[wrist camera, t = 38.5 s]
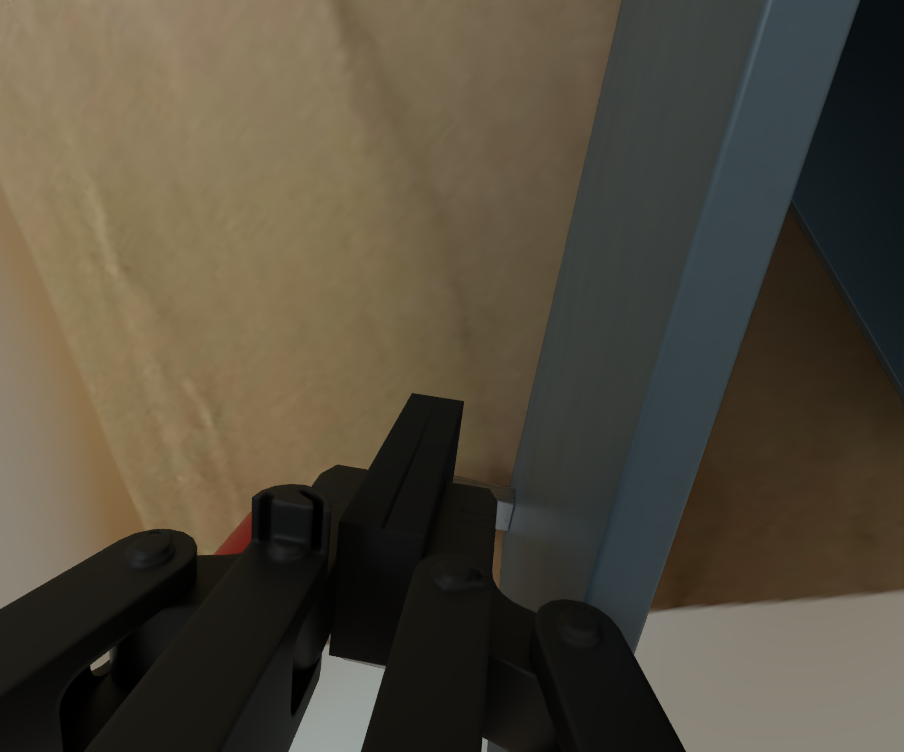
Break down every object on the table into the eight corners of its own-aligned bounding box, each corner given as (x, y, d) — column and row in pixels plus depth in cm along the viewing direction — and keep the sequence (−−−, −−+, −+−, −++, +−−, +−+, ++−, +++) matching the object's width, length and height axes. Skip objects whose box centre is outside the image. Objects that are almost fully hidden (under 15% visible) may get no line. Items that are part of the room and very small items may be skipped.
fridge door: (408, 486, 31) (230, 921, 12) (493, -31, 23) (364, -867, 5) (523, 511, 30) (516, 999, 12) (649, -6, 23) (1148, -817, 4)
